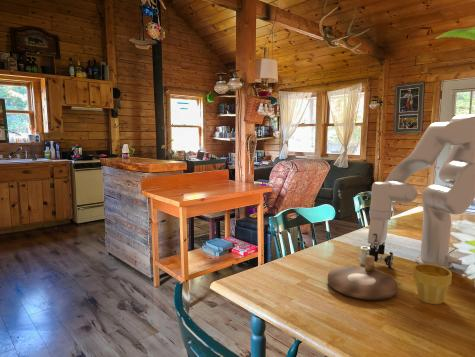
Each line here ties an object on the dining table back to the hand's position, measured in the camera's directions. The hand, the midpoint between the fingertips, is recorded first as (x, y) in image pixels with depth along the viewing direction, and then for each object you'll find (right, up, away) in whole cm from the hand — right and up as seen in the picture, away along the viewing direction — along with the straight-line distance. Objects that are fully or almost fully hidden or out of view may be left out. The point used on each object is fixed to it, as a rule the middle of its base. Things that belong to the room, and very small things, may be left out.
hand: (376, 257), depth 130 cm
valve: (0, -4, +1) cm, 4 cm away
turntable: (-12, -5, -17) cm, 22 cm away
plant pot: (+6, -7, -26) cm, 27 cm away
